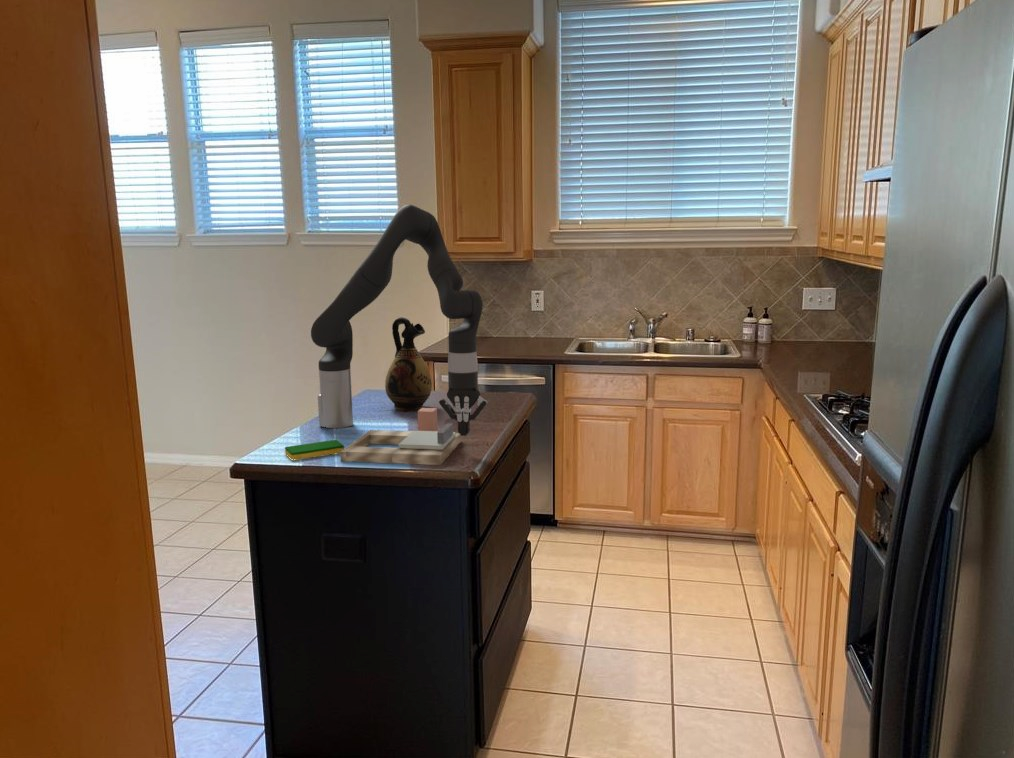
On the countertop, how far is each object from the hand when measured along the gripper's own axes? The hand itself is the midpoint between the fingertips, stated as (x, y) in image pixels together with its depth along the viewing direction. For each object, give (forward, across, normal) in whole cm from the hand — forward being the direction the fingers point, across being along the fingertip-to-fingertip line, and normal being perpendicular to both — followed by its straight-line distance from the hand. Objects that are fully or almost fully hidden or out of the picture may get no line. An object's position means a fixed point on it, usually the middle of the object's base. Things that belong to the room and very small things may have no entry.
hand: (464, 435), depth 194 cm
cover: (+2, -10, 0) cm, 10 cm away
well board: (+5, -17, 0) cm, 18 cm away
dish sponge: (+6, -39, -5) cm, 40 cm away
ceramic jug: (+5, -31, +51) cm, 60 cm away
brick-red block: (+5, -15, +19) cm, 25 cm away
